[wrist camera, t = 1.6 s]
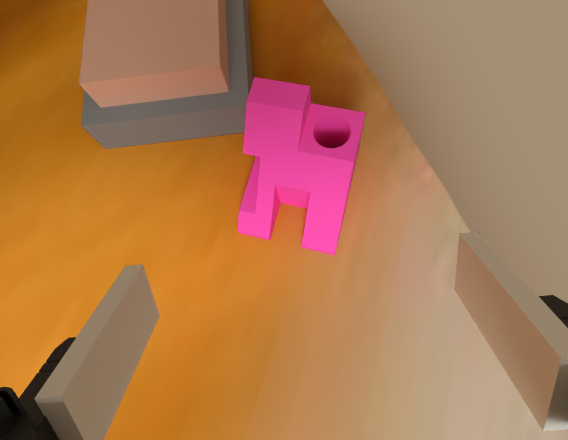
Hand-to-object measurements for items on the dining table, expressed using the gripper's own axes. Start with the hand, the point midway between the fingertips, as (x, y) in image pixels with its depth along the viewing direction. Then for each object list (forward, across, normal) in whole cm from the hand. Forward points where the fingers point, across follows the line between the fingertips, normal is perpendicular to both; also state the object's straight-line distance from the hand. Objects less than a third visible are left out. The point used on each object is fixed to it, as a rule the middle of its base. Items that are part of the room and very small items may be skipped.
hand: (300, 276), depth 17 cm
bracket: (+26, 0, -7) cm, 27 cm away
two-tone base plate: (+38, -14, +6) cm, 41 cm away
